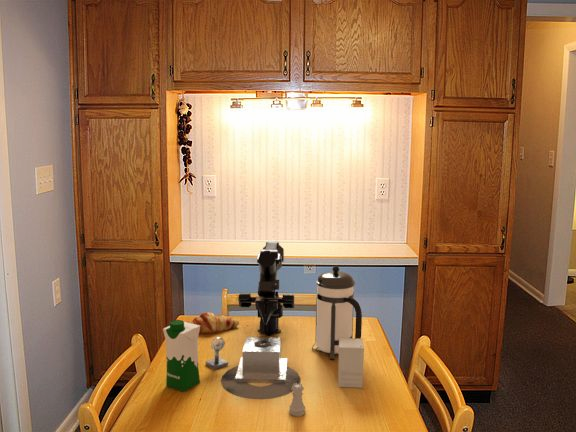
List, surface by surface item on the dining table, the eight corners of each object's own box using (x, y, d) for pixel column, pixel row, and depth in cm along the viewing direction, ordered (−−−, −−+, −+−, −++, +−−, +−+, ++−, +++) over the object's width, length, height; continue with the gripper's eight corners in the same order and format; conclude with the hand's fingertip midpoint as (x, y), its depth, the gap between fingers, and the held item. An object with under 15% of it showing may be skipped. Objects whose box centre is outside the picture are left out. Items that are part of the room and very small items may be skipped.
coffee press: (307, 359, 182) (308, 271, 176) (316, 340, 197) (317, 259, 192) (359, 365, 178) (363, 275, 172) (365, 346, 193) (368, 262, 188)
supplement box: (362, 377, 170) (363, 338, 167) (362, 388, 162) (364, 348, 160) (337, 375, 170) (339, 337, 168) (337, 387, 163) (338, 346, 161)
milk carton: (161, 386, 162) (159, 321, 159) (182, 374, 170) (180, 312, 166) (184, 394, 158) (183, 328, 154) (204, 382, 165) (203, 318, 162)
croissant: (237, 333, 213) (235, 312, 215) (242, 329, 203) (240, 308, 206) (181, 337, 207) (180, 315, 209) (183, 334, 198) (182, 311, 200)
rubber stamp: (218, 360, 180) (218, 332, 178) (227, 365, 177) (227, 336, 175) (205, 364, 177) (205, 336, 175) (215, 370, 173) (214, 341, 171)
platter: (265, 356, 184) (265, 355, 184) (317, 381, 167) (317, 380, 167) (205, 378, 168) (205, 377, 168) (255, 408, 150) (255, 408, 150)
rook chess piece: (288, 408, 151) (288, 381, 149) (304, 408, 151) (304, 380, 150) (289, 417, 146) (289, 389, 145) (306, 416, 147) (306, 388, 145)
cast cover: (241, 360, 180) (241, 334, 178) (287, 361, 179) (287, 335, 178) (235, 382, 165) (235, 353, 164) (285, 383, 165) (285, 354, 163)
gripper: (238, 269, 185) (234, 312, 176) (294, 271, 184) (293, 314, 175) (241, 285, 194) (237, 327, 185) (294, 286, 193) (293, 328, 184)
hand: (265, 324), depth 182 cm, fingers closed
